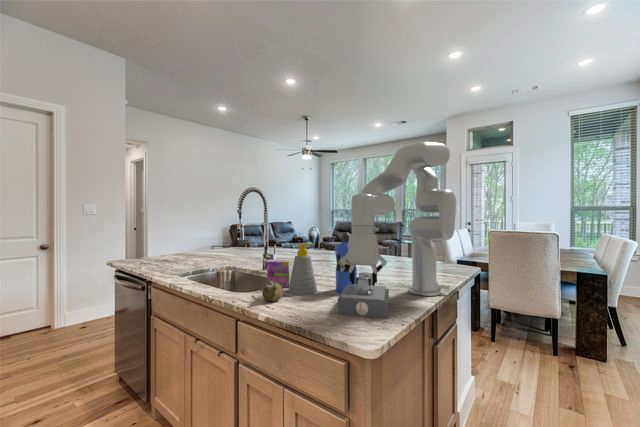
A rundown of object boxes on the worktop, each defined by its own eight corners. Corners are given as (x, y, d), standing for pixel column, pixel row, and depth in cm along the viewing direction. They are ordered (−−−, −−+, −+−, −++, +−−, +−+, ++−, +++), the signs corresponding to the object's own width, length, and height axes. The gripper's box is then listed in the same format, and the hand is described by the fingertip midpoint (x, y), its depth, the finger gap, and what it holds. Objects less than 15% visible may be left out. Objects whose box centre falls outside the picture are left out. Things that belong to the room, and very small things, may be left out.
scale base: (388, 302, 106) (388, 289, 106) (387, 318, 90) (387, 302, 90) (345, 299, 110) (345, 286, 110) (337, 314, 94) (337, 299, 94)
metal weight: (373, 286, 105) (373, 272, 105) (372, 289, 101) (372, 275, 101) (359, 285, 107) (359, 272, 107) (358, 289, 102) (358, 274, 102)
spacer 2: (371, 291, 98) (371, 277, 98) (370, 295, 93) (370, 280, 93) (357, 290, 99) (357, 276, 99) (355, 294, 95) (355, 279, 95)
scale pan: (385, 289, 105) (385, 286, 105) (384, 300, 92) (384, 297, 92) (348, 287, 109) (348, 284, 109) (341, 297, 95) (341, 294, 95)
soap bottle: (313, 296, 116) (313, 245, 116) (284, 294, 118) (283, 244, 118) (320, 288, 128) (319, 242, 128) (293, 286, 130) (292, 241, 130)
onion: (286, 301, 109) (286, 280, 109) (266, 304, 105) (265, 282, 105) (279, 296, 115) (279, 276, 115) (260, 299, 112) (259, 278, 112)
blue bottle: (356, 294, 117) (355, 233, 118) (333, 292, 120) (333, 232, 120) (358, 288, 127) (358, 231, 127) (337, 287, 129) (337, 231, 129)
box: (267, 287, 130) (266, 261, 130) (271, 284, 136) (271, 259, 136) (289, 288, 128) (288, 261, 128) (292, 284, 134) (292, 259, 134)
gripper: (389, 230, 98) (390, 283, 98) (339, 230, 102) (340, 280, 102) (389, 231, 91) (389, 288, 91) (335, 231, 95) (335, 285, 95)
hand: (363, 283), depth 96 cm, fingers open, 6 cm apart
